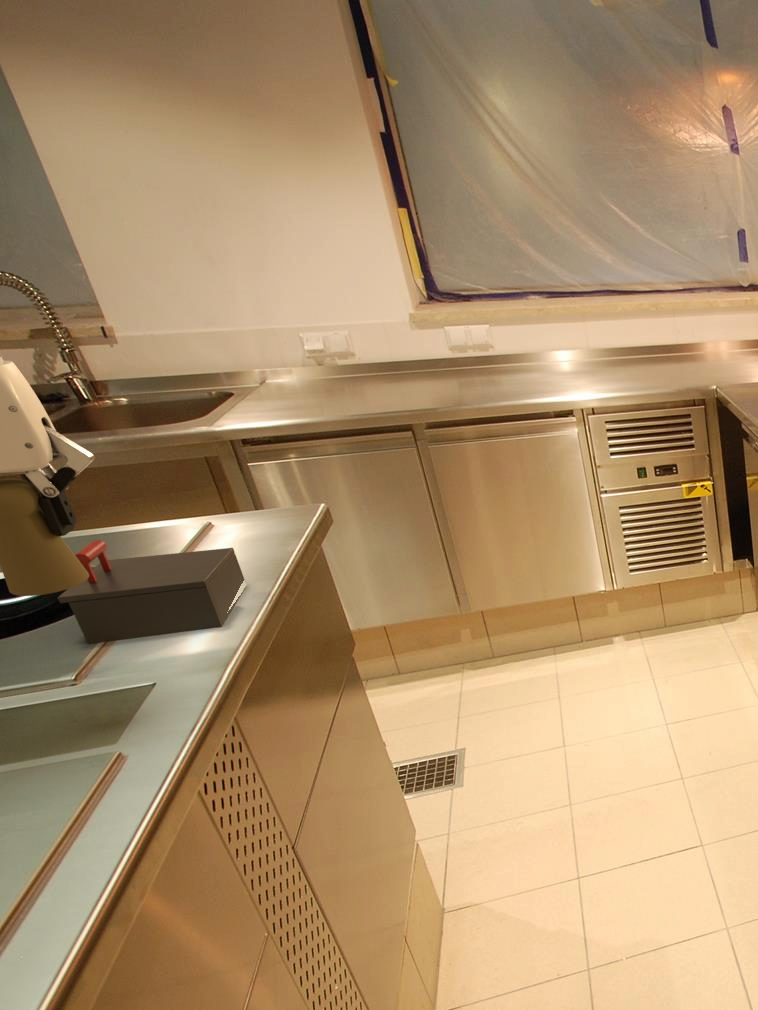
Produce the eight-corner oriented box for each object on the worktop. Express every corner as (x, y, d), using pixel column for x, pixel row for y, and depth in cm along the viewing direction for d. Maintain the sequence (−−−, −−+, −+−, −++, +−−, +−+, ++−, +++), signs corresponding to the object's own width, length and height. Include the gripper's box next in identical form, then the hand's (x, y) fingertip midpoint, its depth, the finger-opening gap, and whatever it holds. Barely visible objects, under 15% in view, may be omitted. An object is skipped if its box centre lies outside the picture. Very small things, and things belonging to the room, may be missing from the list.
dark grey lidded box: (91, 651, 108) (68, 602, 105) (132, 610, 120) (112, 565, 117) (224, 634, 114) (206, 587, 111) (250, 596, 126) (235, 552, 123)
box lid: (59, 603, 105) (42, 566, 103) (104, 565, 117) (90, 532, 115) (206, 586, 111) (192, 551, 109) (235, 552, 123) (223, 520, 121)
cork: (-6, 598, 84) (-67, 495, 79) (31, 572, 89) (-25, 473, 84) (69, 593, 86) (14, 491, 80) (101, 567, 91) (51, 470, 85)
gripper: (-226, 356, 71) (-114, 558, 79) (45, 350, 78) (123, 536, 86) (-170, 347, 77) (-71, 535, 85) (76, 342, 84) (147, 516, 92)
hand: (26, 534), depth 85 cm, fingers closed on cork, 5 cm apart
